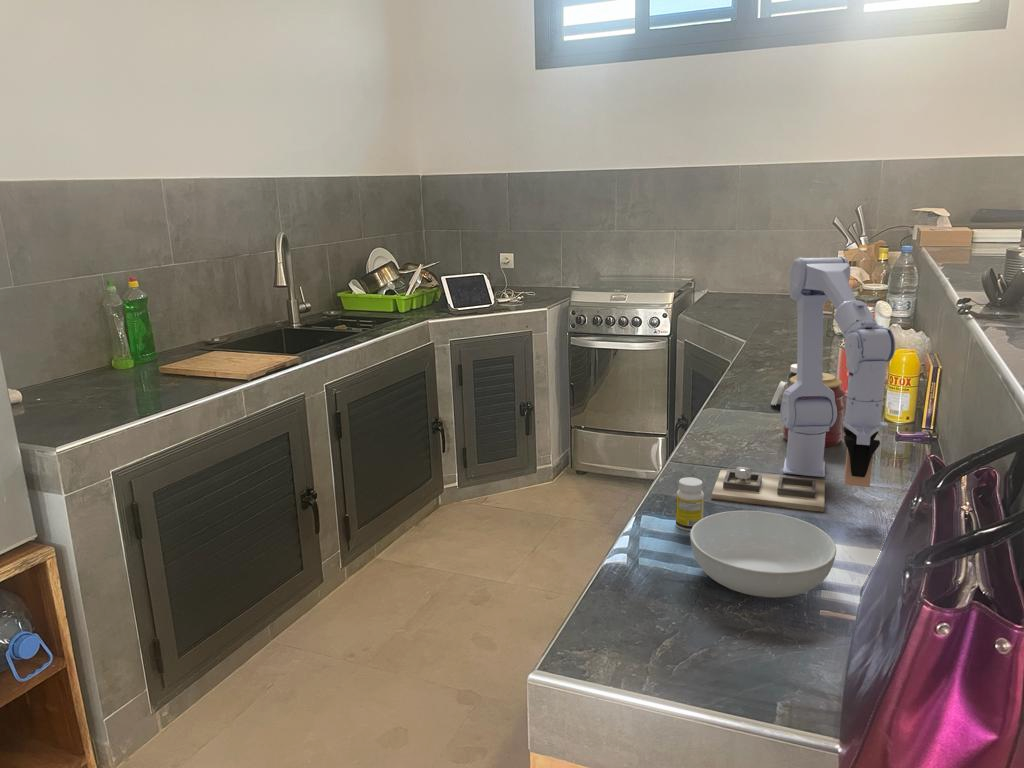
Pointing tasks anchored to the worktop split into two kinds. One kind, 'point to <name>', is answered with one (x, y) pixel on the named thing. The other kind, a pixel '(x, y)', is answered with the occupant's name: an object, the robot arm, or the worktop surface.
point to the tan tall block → (853, 479)
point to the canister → (834, 384)
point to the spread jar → (782, 384)
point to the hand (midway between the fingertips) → (857, 471)
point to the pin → (743, 475)
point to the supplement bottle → (689, 503)
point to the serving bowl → (762, 552)
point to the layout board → (772, 491)
